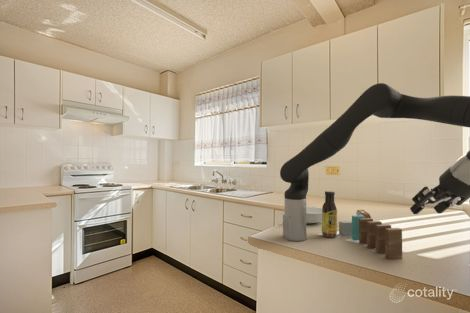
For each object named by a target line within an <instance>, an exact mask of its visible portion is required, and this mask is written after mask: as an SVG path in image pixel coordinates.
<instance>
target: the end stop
mask: <svg viewBox="0 0 470 313" xmlns="http://www.w3.org/2000/svg"><path fill="white" fill-rule="evenodd" d="M338 235H340V236H341V237H352V220H339V221H338Z"/></svg>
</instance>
